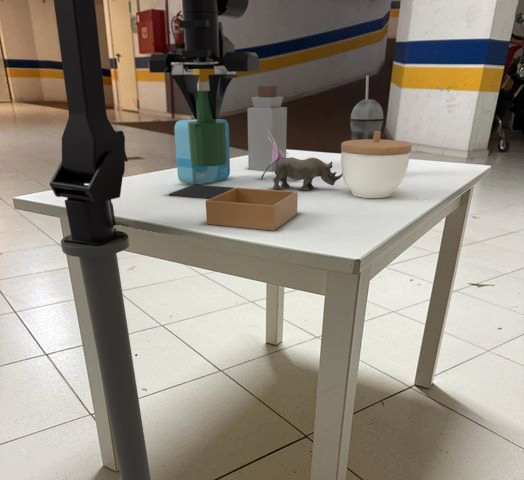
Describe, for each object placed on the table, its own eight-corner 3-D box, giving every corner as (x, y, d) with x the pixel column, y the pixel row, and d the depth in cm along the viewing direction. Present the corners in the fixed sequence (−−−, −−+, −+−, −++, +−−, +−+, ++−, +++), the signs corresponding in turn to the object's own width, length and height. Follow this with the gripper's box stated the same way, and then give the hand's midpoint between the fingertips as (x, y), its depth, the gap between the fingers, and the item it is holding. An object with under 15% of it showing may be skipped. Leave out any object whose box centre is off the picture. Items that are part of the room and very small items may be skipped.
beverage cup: (384, 174, 114) (394, 75, 104) (366, 179, 109) (376, 75, 99) (357, 171, 118) (365, 75, 108) (339, 175, 113) (346, 75, 104)
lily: (280, 191, 103) (303, 147, 100) (234, 164, 105) (256, 120, 102) (296, 198, 114) (317, 159, 111) (254, 173, 116) (274, 134, 113)
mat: (216, 199, 91) (215, 197, 91) (168, 195, 94) (168, 193, 94) (238, 189, 99) (237, 187, 99) (193, 186, 103) (193, 184, 103)
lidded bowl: (363, 185, 102) (368, 127, 97) (417, 194, 94) (427, 131, 89) (324, 194, 94) (327, 131, 89) (380, 205, 87) (387, 136, 81)
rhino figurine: (341, 192, 97) (343, 159, 94) (271, 190, 99) (272, 158, 96) (341, 188, 100) (344, 156, 97) (274, 186, 102) (275, 155, 99)
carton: (274, 230, 72) (274, 206, 71) (206, 224, 76) (205, 200, 74) (297, 213, 81) (297, 191, 79) (236, 208, 85) (235, 187, 83)
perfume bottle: (271, 171, 119) (272, 86, 110) (248, 168, 122) (247, 86, 113) (285, 167, 124) (287, 85, 115) (263, 165, 127) (262, 85, 118)
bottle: (217, 167, 88) (213, 91, 82) (184, 165, 90) (178, 91, 85) (232, 161, 94) (230, 90, 88) (201, 160, 96) (197, 90, 90)
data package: (193, 185, 101) (189, 121, 96) (177, 183, 103) (173, 120, 98) (230, 178, 110) (229, 119, 104) (215, 176, 112) (212, 118, 107)
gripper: (271, 15, 84) (271, 116, 92) (176, 20, 90) (183, 115, 98) (244, 9, 75) (247, 121, 83) (141, 15, 81) (152, 119, 89)
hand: (206, 119), depth 88 cm, fingers closed on bottle, 3 cm apart
